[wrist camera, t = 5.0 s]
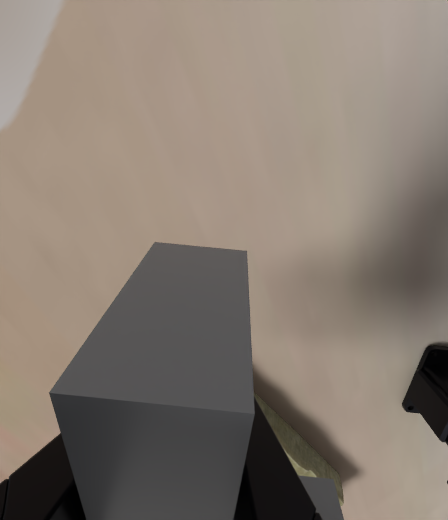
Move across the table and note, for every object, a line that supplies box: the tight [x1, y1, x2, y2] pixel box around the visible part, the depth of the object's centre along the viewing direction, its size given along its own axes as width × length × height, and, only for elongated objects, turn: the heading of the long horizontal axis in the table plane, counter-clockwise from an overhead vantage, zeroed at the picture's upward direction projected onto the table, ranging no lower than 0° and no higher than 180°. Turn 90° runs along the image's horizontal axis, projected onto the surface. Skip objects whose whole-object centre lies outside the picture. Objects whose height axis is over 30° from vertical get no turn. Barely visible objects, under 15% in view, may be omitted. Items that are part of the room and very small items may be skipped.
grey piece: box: [49, 242, 344, 520], centre depth 8 cm, size 12×12×4 cm
